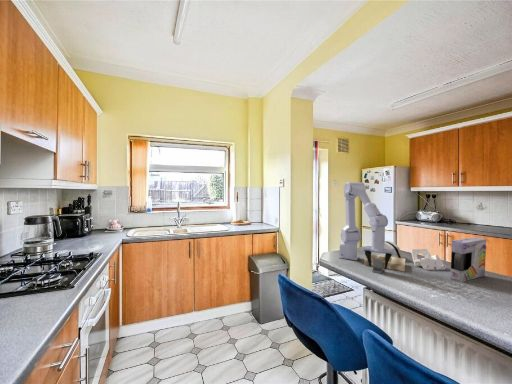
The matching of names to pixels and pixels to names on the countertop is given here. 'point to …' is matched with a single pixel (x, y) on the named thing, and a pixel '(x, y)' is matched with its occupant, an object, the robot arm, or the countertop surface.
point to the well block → (392, 264)
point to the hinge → (393, 246)
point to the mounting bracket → (427, 260)
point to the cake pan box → (468, 258)
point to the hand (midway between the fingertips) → (377, 267)
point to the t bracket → (377, 265)
